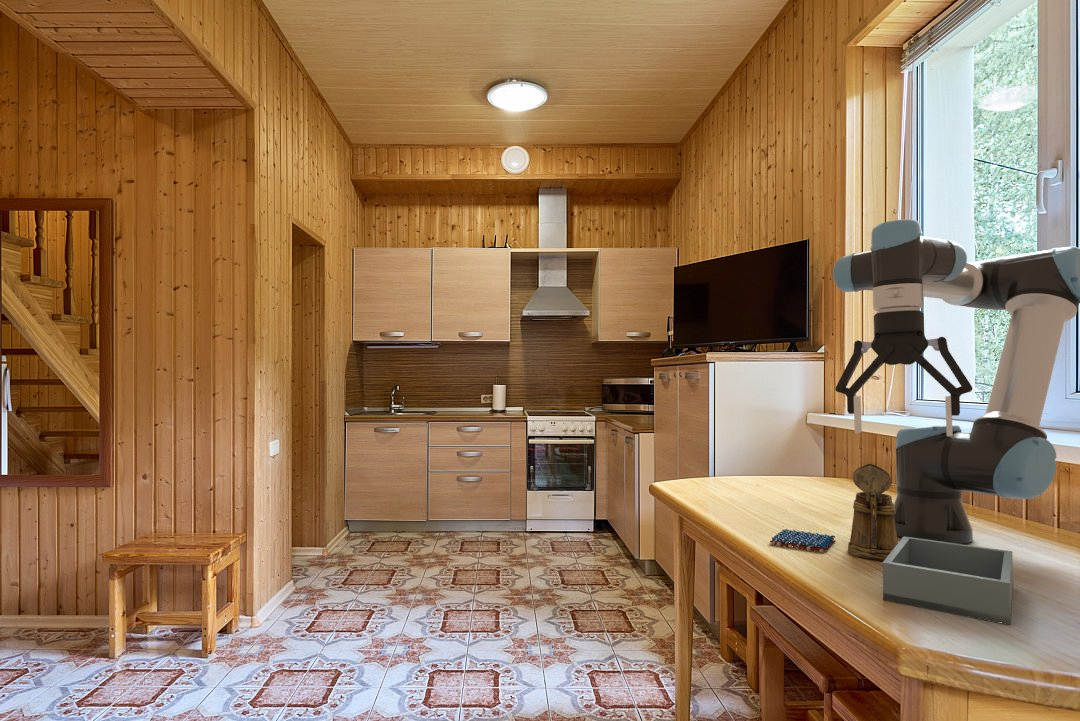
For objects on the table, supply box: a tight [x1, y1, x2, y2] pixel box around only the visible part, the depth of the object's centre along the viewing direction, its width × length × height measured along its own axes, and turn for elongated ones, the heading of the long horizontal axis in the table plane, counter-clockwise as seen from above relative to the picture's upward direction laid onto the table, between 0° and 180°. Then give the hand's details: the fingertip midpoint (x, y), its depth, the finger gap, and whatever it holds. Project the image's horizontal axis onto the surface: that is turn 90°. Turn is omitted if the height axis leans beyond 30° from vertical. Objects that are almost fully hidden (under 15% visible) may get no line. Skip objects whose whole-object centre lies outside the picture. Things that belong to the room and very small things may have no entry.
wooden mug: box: [847, 463, 899, 562], centre depth 113 cm, size 9×14×18 cm, turn 149°
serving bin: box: [882, 536, 1014, 626], centre depth 94 cm, size 20×15×6 cm
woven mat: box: [769, 528, 836, 554], centre depth 123 cm, size 10×11×2 cm
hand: (902, 434), depth 106 cm, fingers open, 13 cm apart
